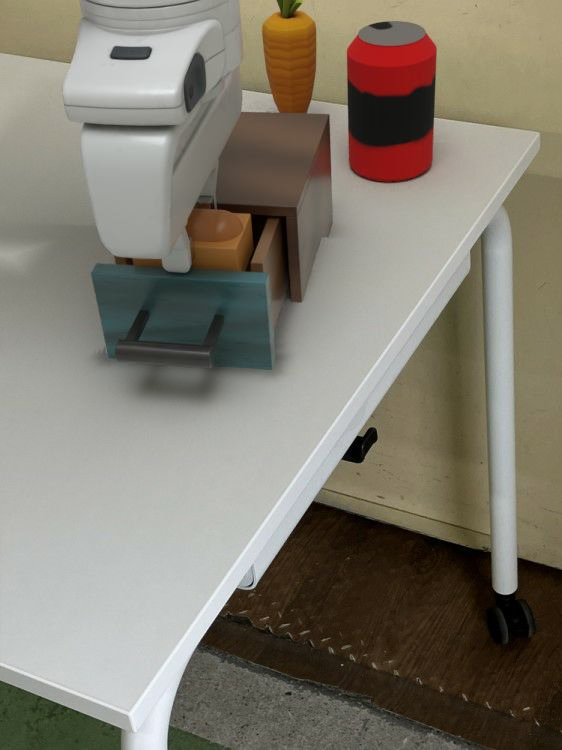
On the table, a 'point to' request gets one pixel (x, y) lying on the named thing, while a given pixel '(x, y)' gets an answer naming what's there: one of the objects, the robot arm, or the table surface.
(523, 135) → the table surface
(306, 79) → the carrot
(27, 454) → the table surface
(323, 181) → the cabinet
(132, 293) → the drawer
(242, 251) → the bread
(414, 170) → the soda can
